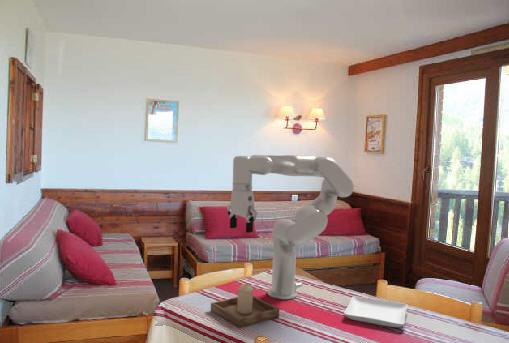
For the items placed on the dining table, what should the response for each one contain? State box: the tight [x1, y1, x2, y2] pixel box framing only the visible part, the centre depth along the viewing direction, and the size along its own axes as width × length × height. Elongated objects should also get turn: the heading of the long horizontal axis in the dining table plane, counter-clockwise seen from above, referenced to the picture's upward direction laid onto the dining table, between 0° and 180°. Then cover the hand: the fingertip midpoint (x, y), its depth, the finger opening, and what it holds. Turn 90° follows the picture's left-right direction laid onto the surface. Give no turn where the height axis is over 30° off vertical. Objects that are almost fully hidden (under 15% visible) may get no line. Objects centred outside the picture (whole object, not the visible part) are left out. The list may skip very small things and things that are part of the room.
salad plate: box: [343, 295, 409, 328], centre depth 170 cm, size 21×21×3 cm
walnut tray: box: [210, 295, 280, 329], centre depth 166 cm, size 18×18×3 cm
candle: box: [237, 283, 254, 314], centre depth 166 cm, size 6×6×10 cm
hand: (241, 230), depth 179 cm, fingers open, 9 cm apart
